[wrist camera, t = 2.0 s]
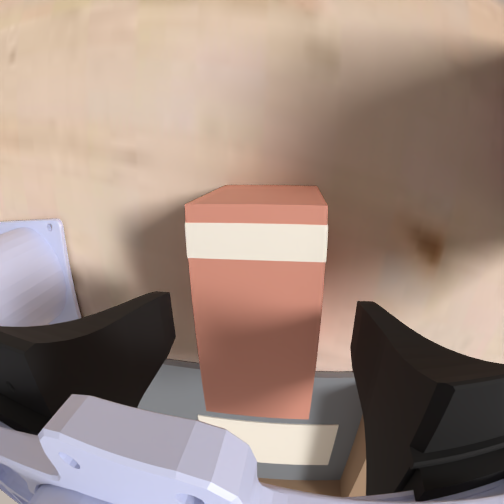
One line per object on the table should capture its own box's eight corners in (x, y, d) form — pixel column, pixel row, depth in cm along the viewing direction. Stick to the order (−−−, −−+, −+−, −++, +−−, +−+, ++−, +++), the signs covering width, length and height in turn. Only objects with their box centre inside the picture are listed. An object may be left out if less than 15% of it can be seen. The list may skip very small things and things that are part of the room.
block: (231, 340, 18) (205, 411, 13) (225, 185, 16) (183, 204, 10) (308, 344, 18) (309, 419, 12) (317, 185, 15) (328, 205, 9)
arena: (161, 464, 24) (147, 495, 20) (124, 352, 20) (96, 386, 16) (353, 482, 22) (356, 516, 18) (394, 370, 18) (409, 413, 14)
